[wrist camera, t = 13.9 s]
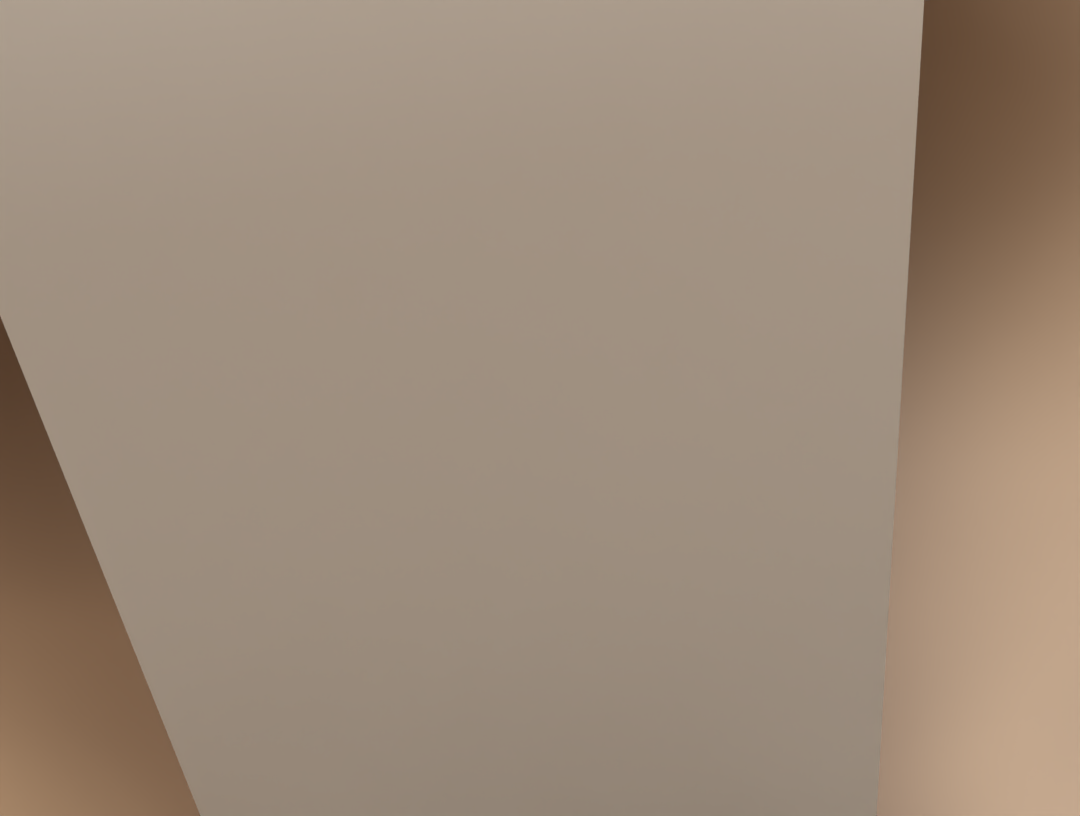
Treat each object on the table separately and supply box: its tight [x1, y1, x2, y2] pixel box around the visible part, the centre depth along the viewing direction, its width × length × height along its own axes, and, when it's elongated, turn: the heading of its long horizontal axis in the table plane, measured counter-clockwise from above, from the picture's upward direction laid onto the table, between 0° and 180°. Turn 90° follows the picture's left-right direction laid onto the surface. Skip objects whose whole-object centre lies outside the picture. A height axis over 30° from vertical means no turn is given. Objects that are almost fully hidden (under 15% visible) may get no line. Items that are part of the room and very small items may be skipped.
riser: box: [0, 0, 1080, 816], centre depth 14 cm, size 21×14×4 cm, turn 107°
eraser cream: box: [0, 0, 924, 816], centre depth 6 cm, size 5×10×4 cm, turn 7°
